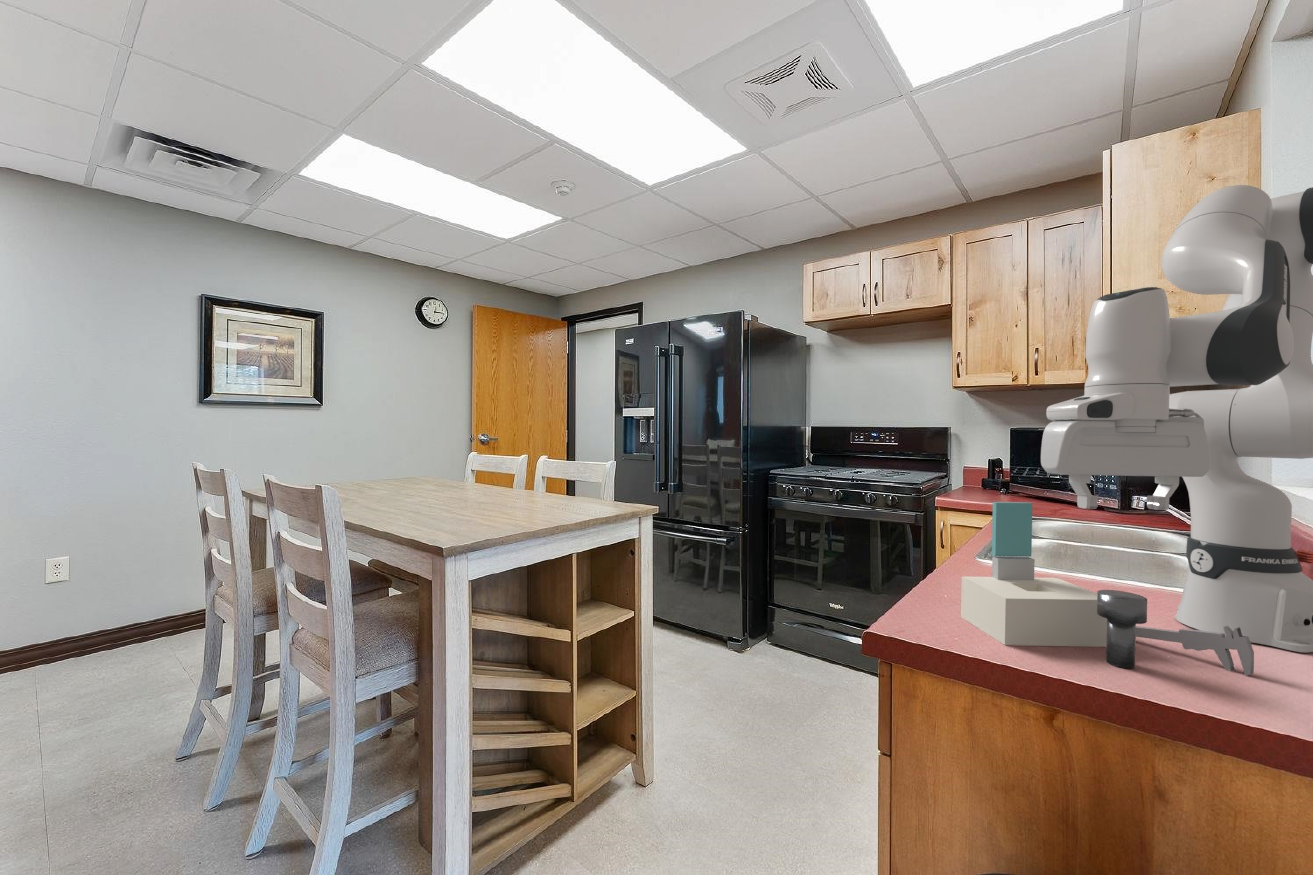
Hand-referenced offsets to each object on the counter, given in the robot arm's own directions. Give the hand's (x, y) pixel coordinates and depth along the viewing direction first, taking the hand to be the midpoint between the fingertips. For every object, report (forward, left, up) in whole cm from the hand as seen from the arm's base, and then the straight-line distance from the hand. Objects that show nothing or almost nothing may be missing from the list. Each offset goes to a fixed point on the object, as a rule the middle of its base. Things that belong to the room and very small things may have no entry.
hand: (1122, 508), depth 74 cm
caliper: (-10, -6, -22) cm, 25 cm away
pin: (0, 0, -21) cm, 21 cm away
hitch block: (+4, -12, -21) cm, 25 cm away
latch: (+4, -17, -6) cm, 18 cm away
